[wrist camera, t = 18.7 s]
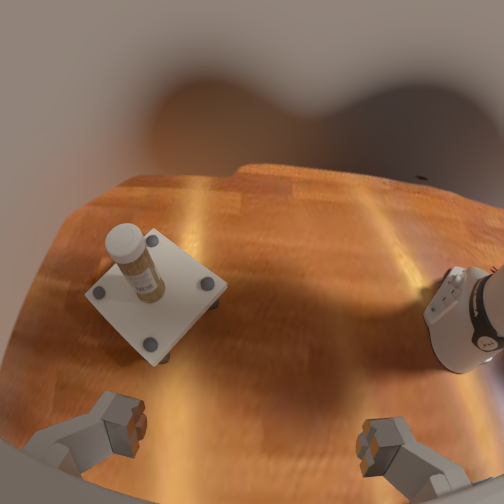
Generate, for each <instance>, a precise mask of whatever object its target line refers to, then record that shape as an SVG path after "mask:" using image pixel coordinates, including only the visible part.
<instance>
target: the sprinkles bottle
mask: <svg viewBox="0 0 504 504" xmlns="http://www.w3.org/2000/svg"><path fill="white" fill-rule="evenodd" d="M105 247H106V250H107V252H108V253H109V255H110V257H111V258H112V259H113V260H114V261H115V262H116V263H117V265H118V267H119V268H120V271H121V272H122V274H123V275H124V277H125V278H126V280H127V281H128V283H129V284H130V286H131V287H132V289H133V290H134V291H135V292H136V294H137V296H138V298H139V299H140V300H141V301H143V302H145V303H154V302H156V301H158V300H160V299H161V298H162V296H163V295H164V293H165V284H164V281H163V280H162V279H161V277H160V274H159V272H158V270H157V268H156V266H155V264H154V262H153V260H152V258H151V256H150V254H149V252H148V249H147V247H146V245H145V239H144V237H143V235H142V232H141V231H140V229H139V228H138V227H137V226H136V225H134V224H130V223H125V224H120V225H118V226H116V227H114V228H113V229H112V230H111V231H110V232H109V233H108V235H107V237H106V240H105Z"/></svg>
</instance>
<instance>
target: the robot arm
mask: <svg viewBox="0 0 504 504" xmlns="http://www.w3.org/2000/svg"><path fill="white" fill-rule="evenodd" d="M493 268H494V269H495V270H494V269H490V270H491V271H492V272H493V273H494V274H491V275H490V274H488V273H487V272H486V271H484V270H482V269H480V268H477V267H470V268H468V269H467V270H466V269H464V268H461V267H453V268H452V269H451V270H450V272H449V273H448V275H447V277H446V278H445V280H444V281H443V283H442V285H441V286H440V288H439V289H438V291H437V292H436V294H435V295H434V297H433V298H432V300H431V301H430V303H429V304H428V306H427V307H426V309H425V310H424V312H423V316H424V319H425V321H426V323H427V325H428V327H429V330H430V337H431V343H432V347H433V349H434V352H435V354H436V356H437V358H438V359H439V361H440V362H441V363H442V364H443V365H444V366H445V367H446V368H447V369H449V370H451V371H453V372H456V373H467V372H469V371H471V370H473V369H474V368H475V367H477V366H478V365H480V364H485V363H488V362H489V361H491V360H492V357H493V356H494V355H495V354H497V353H498V352H500V351H501V350H503V349H504V264H503V266H502V267H501V268H500V269H499V270H498V269H497V268H496V267H494V266H493ZM431 309H432V310H433V311H432V310H431ZM144 410H145V404H144V401H143V400H140V399H136V398H132V397H128V396H125V395H121V394H116V393H113V392H110V391H105V392H104V393H103V394H102V396H101V397H100V398H99V400H98V401H97V402H96V404H95V405H94V407H93V408H92V409H91V411H90V412H89V413H88V415H85V414H83V415H80V416H78V417H75V418H73V419H70V420H67V421H65V422H62V423H59V424H56V425H54V426H51V427H48V428H45V429H42V430H39V431H36V432H35V434H34V435H33V436H32V437H31V438H30V440H29V441H28V442H27V443H26V445H25V446H24V447H23V448H22V450H20V449H18V448H17V447H15V446H13V445H11V444H10V443H8V442H6V441H5V440H3V439H1V438H0V504H159V503H155V502H151V501H147V500H143V499H140V498H136V497H133V496H129V495H126V494H123V493H119V492H116V491H113V490H110V489H107V488H104V487H102V486H99V485H96V484H93V483H91V482H88V481H86V480H83V478H82V476H81V474H82V473H83V472H85V471H87V470H88V469H90V468H92V467H93V466H95V465H97V464H98V463H100V462H101V461H103V460H105V459H106V458H108V457H109V456H111V455H113V453H115V454H119V455H122V456H126V457H130V458H135V456H136V453H137V451H138V449H139V447H140V446H139V441H140V440H142V439H143V438H144V436H145V433H146V429H147V417H146V415H145V414H144V413H143V412H144ZM362 428H363V432H362V433H360V434H359V435H358V438H357V440H356V454H357V457H358V458H359V459H361V460H362V461H361V463H360V468H361V472H362V475H363V477H374V476H383V477H384V478H385V479H387V480H388V481H389V482H390V483H391V484H392V485H393V486H394V487H395V488H396V489H397V490H399V491H400V492H401V493H402V494H403V495H404V496H405V497H406V498H407V499H409V500H410V501H411V503H410V504H504V474H502V475H500V476H498V477H495V478H493V479H491V480H488V481H486V482H483V483H481V484H478V485H476V486H472V484H471V482H470V481H469V479H468V477H467V475H466V473H465V472H464V470H463V468H462V467H461V466H459V465H458V464H456V463H454V462H452V461H451V460H449V459H447V458H445V457H444V456H442V455H440V454H439V453H437V452H435V451H433V450H432V449H430V448H428V447H427V446H425V445H423V444H422V443H417V442H416V440H415V438H414V436H413V434H412V432H411V430H410V429H409V427H408V425H407V423H406V421H405V419H404V418H403V417H402V416H399V417H390V418H379V419H366V420H365V421H364V423H363V426H362Z"/></svg>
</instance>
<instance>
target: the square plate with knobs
mask: <svg viewBox="0 0 504 504" xmlns="http://www.w3.org/2000/svg"><path fill="white" fill-rule="evenodd" d="M144 239H145V245H146V247H147V249H148V252H149V254H150V256H151V258H152V260H153V262H154V264H155V266H156V268H157V270H158V272H159V274H160V277H161V279H162V280H163V281H164V284H165V293H164V295H163V296H162V298H161V299H160V300H158V301H156V302H154V303H145V302H143V301H141V300H140V299H139V298H138V296H137V294H136V292H135V291H134V290H133V289H132V287H131V286H130V284H129V283H128V281H127V280H126V278H125V277H124V275H123V274H122V272H121V271H120V268H119V267H118V265H117V263H116V264H115V265H113V266H112V267H111V268H110V269H109V270H108V271H107V272H106V273H105V274H104V275H103V276H102V277H101V278H100V279H99V280H98V281H97V282H96V283H95V284H94V285H93V286H92V287H91V288H90V289H89V290H88V291H87V292H86V293H85V294H84V295H85V296H86V297H87V299H88V300H89V301H90V302H91V303H92V304H93V305H94V307H95V308H96V309H97V310H98V311H99V312H100V313H101V314H102V315H103V317H104V318H105V319H106V320H107V321H108V322H109V323H110V324H111V325H112V326H113V327H114V328H115V329H116V330H117V331H118V332H119V334H120V335H121V336H122V337H123V338H124V339H125V340H126V341H127V342H128V343H129V344H130V345H131V346H132V347H133V348H134V349H135V350H136V351H137V352H138V353H139V354H140V355H142V356H143V357H144V358H145V359H146V360H147V361H148V362H149V363H150V364H151V365H152V366H153V367H156V365H157V364H158V363H160V364H164V363H166V362H168V360H169V358H170V355H169V351H170V350H171V349H172V348H173V347H174V346H175V345H176V344H177V342H178V341H179V340H180V339H181V338H182V337H183V336H184V335H185V334H186V333H187V332H188V330H189V329H190V328H191V327H192V326H193V325H194V324H195V323H196V322H197V321H198V320H199V318H200V317H201V316H202V315H203V314H204V313H205V312H206V311H207V310H208V309H215V308H216V307H217V306H218V305H219V299H218V298H219V296H220V295H221V294H222V293H223V292H224V291H225V290H226V289H227V288H228V286H227V282H225V281H224V280H222V279H221V278H220V277H218V276H217V275H216V274H214V273H213V272H211V271H210V270H209V269H207V268H206V267H205V266H203V265H202V264H201V263H199V262H198V261H197V260H195V259H194V258H193V257H191V256H190V255H189V254H187V253H186V252H185V251H183V250H182V249H181V248H179V247H178V246H177V245H175V244H174V243H173V242H171V241H170V240H169V239H167V238H166V237H165V236H163V235H162V234H161V233H159V232H158V231H157V230H156V229H154V228H153V229H152V230H151V231H150V232H149V233H148V234H147V235H146V236H144Z"/></svg>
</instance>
